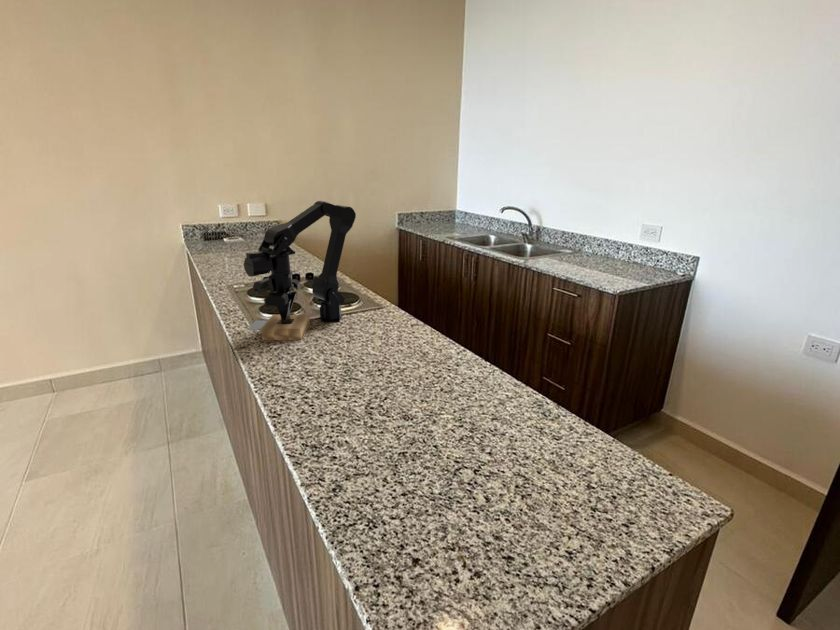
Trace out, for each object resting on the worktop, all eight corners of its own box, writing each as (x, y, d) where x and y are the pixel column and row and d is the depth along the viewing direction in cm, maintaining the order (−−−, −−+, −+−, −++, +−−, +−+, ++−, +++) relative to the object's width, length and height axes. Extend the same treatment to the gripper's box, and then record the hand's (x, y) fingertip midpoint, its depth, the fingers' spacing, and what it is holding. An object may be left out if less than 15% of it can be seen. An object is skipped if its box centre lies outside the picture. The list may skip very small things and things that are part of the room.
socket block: (309, 326, 154) (309, 314, 153) (301, 340, 143) (300, 328, 142) (274, 325, 154) (272, 314, 153) (262, 340, 143) (261, 328, 142)
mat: (276, 321, 158) (276, 320, 158) (268, 330, 151) (268, 329, 151) (255, 321, 158) (255, 320, 158) (247, 330, 151) (247, 329, 151)
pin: (292, 326, 150) (289, 297, 146) (290, 330, 147) (287, 300, 143) (283, 326, 150) (280, 297, 146) (280, 329, 147) (277, 300, 143)
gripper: (264, 262, 150) (269, 307, 156) (243, 278, 133) (250, 328, 138) (298, 262, 150) (302, 307, 156) (282, 278, 133) (287, 329, 138)
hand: (285, 317), depth 147 cm, fingers open, 3 cm apart
